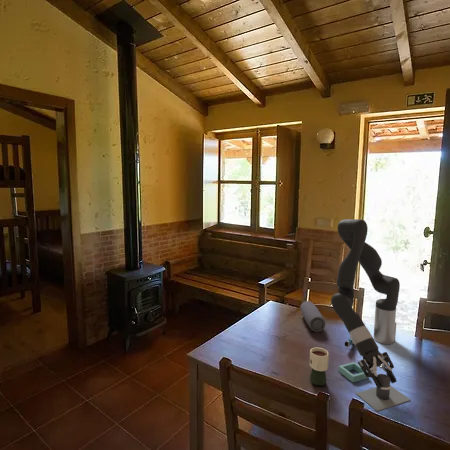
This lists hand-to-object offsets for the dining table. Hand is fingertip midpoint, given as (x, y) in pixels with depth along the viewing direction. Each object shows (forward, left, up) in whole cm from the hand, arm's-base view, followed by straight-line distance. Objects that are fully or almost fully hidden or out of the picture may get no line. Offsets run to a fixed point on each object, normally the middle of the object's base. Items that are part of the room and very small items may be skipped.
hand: (387, 385), depth 117 cm
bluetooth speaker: (-13, -63, -6) cm, 64 cm away
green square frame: (0, -17, -6) cm, 18 cm away
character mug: (+17, -18, -6) cm, 25 cm away
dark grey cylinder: (0, -2, -6) cm, 6 cm away
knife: (-22, -39, -6) cm, 45 cm away
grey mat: (0, -2, -6) cm, 6 cm away
